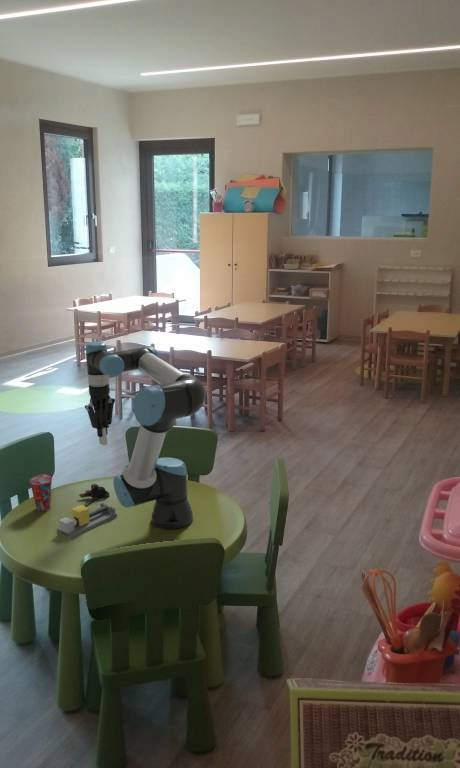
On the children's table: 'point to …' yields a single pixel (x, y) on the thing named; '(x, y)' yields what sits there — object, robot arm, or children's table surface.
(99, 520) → the comb rail
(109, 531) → the children's table surface
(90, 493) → the stuffed animal
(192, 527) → the children's table surface
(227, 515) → the children's table surface
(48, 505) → the cup
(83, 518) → the sleeve
